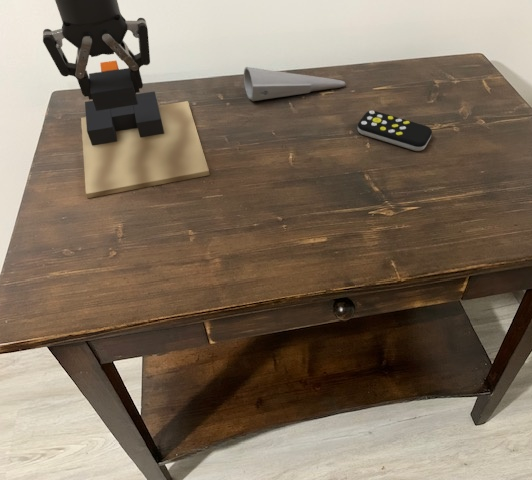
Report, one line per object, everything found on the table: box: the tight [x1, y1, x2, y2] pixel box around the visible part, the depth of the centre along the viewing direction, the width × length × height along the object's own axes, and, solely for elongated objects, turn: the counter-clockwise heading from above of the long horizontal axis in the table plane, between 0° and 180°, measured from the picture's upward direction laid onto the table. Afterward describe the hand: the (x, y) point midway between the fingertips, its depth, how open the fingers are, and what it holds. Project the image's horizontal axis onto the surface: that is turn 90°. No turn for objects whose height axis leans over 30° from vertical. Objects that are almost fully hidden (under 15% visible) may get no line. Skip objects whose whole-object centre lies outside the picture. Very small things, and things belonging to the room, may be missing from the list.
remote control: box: [357, 110, 433, 152], centre depth 95 cm, size 6×13×2 cm, turn 64°
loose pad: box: [88, 60, 138, 111], centre depth 81 cm, size 6×8×3 cm
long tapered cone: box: [243, 66, 346, 102], centre depth 103 cm, size 6×6×19 cm
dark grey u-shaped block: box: [84, 91, 164, 146], centre depth 93 cm, size 12×9×3 cm
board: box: [80, 100, 210, 199], centre depth 91 cm, size 19×21×1 cm
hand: (114, 93), depth 80 cm, fingers closed on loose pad, 6 cm apart
